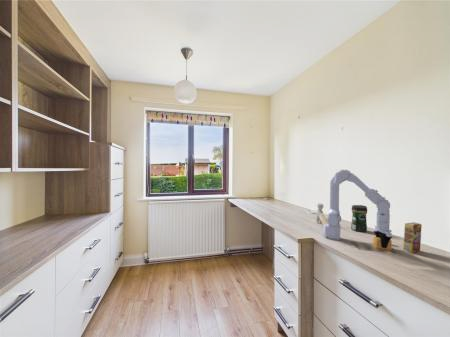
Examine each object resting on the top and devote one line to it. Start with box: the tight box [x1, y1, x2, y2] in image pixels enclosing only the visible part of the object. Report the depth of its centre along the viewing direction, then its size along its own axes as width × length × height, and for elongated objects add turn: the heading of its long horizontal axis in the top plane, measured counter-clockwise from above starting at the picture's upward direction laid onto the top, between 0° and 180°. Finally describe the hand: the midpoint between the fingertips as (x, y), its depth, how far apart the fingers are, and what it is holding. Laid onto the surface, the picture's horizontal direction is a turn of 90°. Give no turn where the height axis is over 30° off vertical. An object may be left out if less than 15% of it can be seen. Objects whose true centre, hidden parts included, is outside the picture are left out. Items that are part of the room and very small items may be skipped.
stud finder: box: [372, 236, 393, 250], centre depth 117 cm, size 7×4×5 cm, turn 77°
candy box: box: [402, 222, 423, 254], centre depth 117 cm, size 9×4×15 cm, turn 115°
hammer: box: [315, 202, 328, 227], centre depth 161 cm, size 16×5×30 cm
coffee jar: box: [350, 204, 368, 232], centre depth 155 cm, size 10×8×19 cm
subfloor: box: [349, 240, 402, 256], centre depth 118 cm, size 20×19×1 cm
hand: (382, 246), depth 117 cm, fingers closed on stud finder, 4 cm apart
